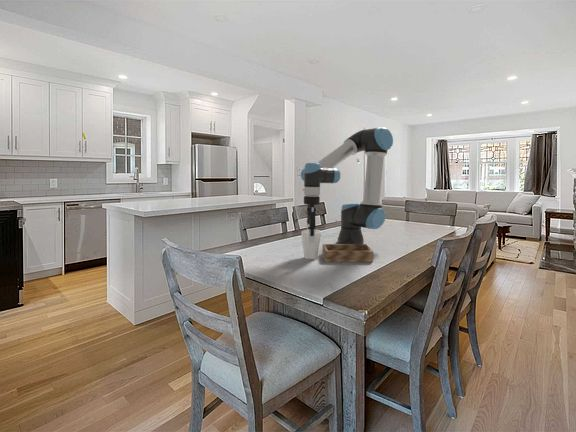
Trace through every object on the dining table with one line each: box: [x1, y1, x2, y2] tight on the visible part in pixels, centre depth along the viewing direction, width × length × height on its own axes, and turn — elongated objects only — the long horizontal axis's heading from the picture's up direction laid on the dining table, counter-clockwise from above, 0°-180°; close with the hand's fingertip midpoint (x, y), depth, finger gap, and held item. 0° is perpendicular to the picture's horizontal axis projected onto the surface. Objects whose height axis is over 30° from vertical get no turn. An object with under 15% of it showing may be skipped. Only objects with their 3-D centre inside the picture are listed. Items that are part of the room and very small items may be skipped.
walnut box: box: [321, 243, 374, 263], centre depth 163 cm, size 22×15×5 cm
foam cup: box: [301, 229, 322, 260], centre depth 162 cm, size 10×9×13 cm
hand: (310, 239), depth 161 cm, fingers open, 13 cm apart
